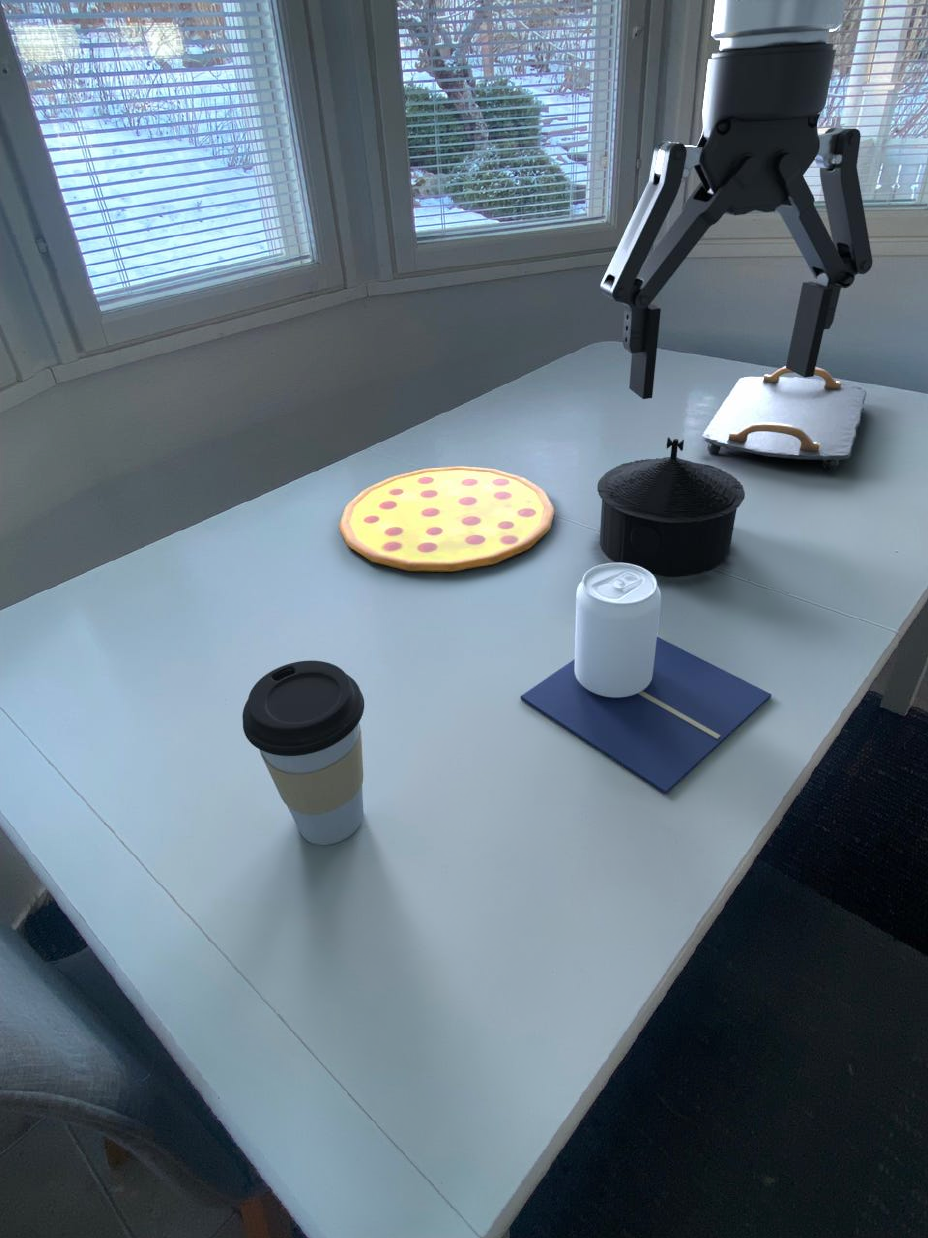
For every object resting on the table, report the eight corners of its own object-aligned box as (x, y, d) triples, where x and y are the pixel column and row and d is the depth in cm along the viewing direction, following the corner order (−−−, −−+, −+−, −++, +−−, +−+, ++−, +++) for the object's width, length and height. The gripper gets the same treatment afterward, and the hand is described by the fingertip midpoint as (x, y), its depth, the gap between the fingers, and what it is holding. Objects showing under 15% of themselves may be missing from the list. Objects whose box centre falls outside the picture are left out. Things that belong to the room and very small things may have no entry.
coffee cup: (318, 766, 70) (287, 643, 61) (403, 797, 66) (383, 670, 57) (254, 841, 63) (210, 715, 54) (345, 880, 60) (313, 752, 51)
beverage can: (558, 674, 78) (559, 581, 71) (611, 642, 82) (617, 551, 75) (614, 713, 73) (621, 617, 66) (668, 678, 76) (680, 583, 69)
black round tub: (573, 560, 97) (577, 455, 89) (622, 502, 110) (629, 405, 101) (712, 593, 89) (732, 481, 81) (747, 527, 102) (768, 424, 93)
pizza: (590, 495, 112) (590, 488, 112) (478, 598, 91) (477, 591, 90) (423, 457, 127) (422, 451, 127) (294, 538, 106) (292, 531, 106)
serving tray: (740, 386, 148) (745, 354, 144) (866, 398, 138) (875, 365, 135) (692, 459, 121) (697, 423, 117) (845, 481, 111) (855, 443, 108)
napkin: (771, 697, 74) (772, 693, 74) (665, 794, 65) (666, 791, 65) (628, 624, 85) (628, 621, 85) (520, 698, 76) (520, 695, 76)
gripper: (909, 35, 50) (834, 351, 63) (562, 57, 47) (556, 387, 59) (995, 26, 44) (893, 377, 57) (604, 51, 41) (587, 418, 53)
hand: (721, 382), depth 58 cm, fingers open, 13 cm apart
